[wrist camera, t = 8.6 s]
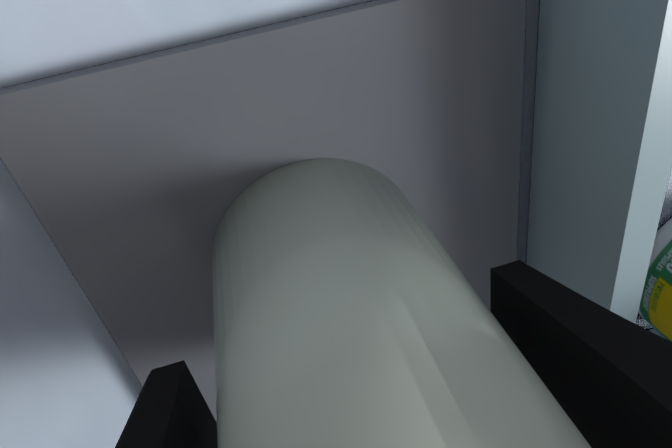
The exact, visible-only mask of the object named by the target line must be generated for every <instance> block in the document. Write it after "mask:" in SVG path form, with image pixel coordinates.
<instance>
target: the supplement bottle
mask: <svg viewBox="0 0 672 448" xmlns="http://www.w3.org/2000/svg"><path fill="white" fill-rule="evenodd" d="M638 313H639V314H640V315H641V316H642V317H643V318H644V319H645V320H646V321H647V322H648V323H649V324H650V325H651V326H652V327H653V328H654V329H655V330H657V331H658V332H659V333H660V334H661V335H662V336H663V337H664V338H665V339H667V340H669V341H671V342H672V218H671V219H670V220H668V221H667V222H666V223H665V224H664V225H663V226H662V227H661V228H660V229H659V230H658V231H657V233H656V237H655V241H654V245H653V250H652V254H651V258H650V263H649V267H648V271H647V276H646V280H645V284H644V288H643V293H642V297H641V301H640V306H639V310H638Z"/></svg>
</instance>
